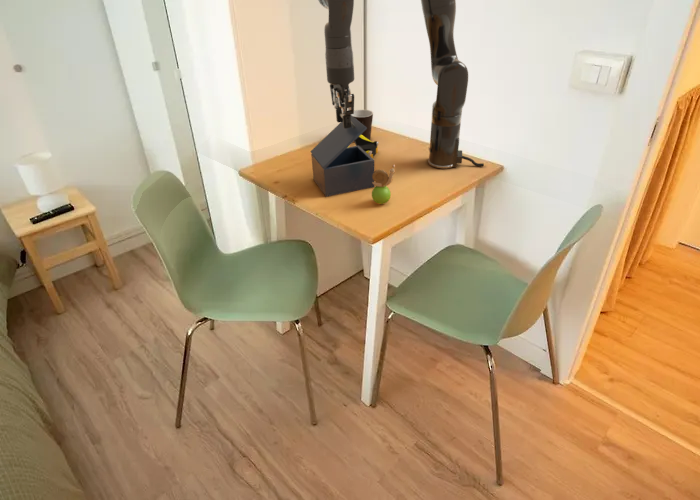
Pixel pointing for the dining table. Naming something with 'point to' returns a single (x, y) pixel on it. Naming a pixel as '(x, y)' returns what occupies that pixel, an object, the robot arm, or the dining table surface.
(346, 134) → the lid
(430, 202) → the dining table surface
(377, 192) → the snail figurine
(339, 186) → the compartment
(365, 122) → the coffee mug
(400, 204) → the dining table surface
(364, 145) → the gaming controller
